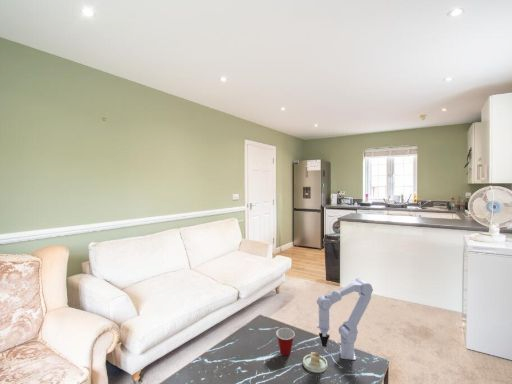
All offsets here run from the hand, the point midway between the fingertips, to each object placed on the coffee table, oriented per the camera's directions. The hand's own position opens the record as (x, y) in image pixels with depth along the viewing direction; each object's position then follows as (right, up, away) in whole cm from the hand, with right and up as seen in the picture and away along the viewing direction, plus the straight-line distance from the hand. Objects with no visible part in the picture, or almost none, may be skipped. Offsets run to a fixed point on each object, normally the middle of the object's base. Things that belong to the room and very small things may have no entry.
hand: (324, 342), depth 153 cm
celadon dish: (-6, -10, -4) cm, 12 cm away
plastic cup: (-21, -10, +6) cm, 24 cm away
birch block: (-6, -9, -5) cm, 12 cm away
